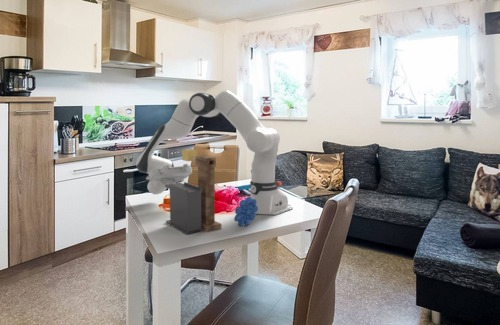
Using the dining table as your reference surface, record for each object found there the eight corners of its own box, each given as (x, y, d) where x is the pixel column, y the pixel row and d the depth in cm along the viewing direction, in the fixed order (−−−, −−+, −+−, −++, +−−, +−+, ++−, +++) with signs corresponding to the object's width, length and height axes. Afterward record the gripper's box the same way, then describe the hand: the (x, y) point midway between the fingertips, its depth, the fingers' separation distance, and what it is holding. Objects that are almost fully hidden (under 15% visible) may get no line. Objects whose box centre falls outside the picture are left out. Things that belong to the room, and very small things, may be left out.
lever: (233, 199, 212) (251, 197, 198) (231, 187, 213) (249, 184, 198) (242, 197, 216) (261, 195, 202) (240, 186, 217) (259, 182, 202)
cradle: (181, 220, 157) (180, 180, 154) (202, 230, 143) (202, 187, 141) (165, 223, 152) (165, 182, 150) (186, 234, 139) (186, 190, 136)
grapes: (250, 220, 158) (251, 193, 156) (260, 224, 152) (261, 196, 151) (228, 225, 151) (228, 197, 149) (238, 229, 145) (238, 200, 143)
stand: (205, 221, 156) (204, 154, 151) (221, 228, 146) (221, 157, 142) (190, 224, 151) (190, 155, 147) (206, 232, 142) (206, 159, 138)
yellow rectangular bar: (191, 159, 158) (191, 149, 157) (212, 163, 145) (212, 151, 144) (182, 160, 155) (181, 149, 155) (203, 163, 142) (203, 152, 142)
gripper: (143, 173, 169) (153, 161, 158) (182, 169, 181) (195, 158, 171) (146, 186, 167) (157, 175, 157) (186, 181, 180) (198, 170, 169)
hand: (177, 166), depth 164 cm, fingers open, 8 cm apart
